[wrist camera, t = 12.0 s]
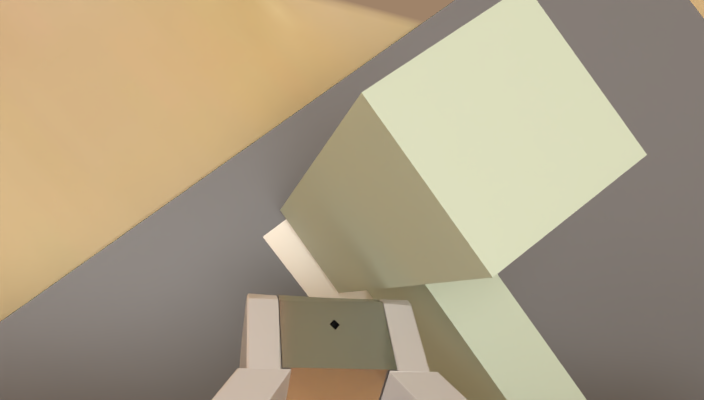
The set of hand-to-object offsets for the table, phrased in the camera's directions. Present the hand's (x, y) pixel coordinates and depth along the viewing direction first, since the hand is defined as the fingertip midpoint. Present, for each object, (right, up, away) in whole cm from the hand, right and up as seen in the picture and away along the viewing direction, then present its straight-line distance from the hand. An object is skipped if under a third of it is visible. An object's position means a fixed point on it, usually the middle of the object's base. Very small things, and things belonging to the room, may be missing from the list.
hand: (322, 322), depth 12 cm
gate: (+4, -3, +4) cm, 7 cm away
